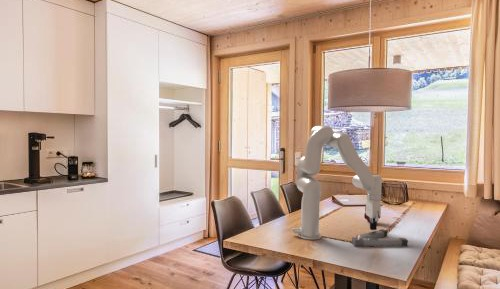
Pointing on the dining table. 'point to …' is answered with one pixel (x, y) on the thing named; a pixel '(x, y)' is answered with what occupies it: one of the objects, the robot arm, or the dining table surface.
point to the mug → (366, 216)
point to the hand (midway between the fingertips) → (373, 229)
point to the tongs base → (379, 242)
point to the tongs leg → (374, 234)
